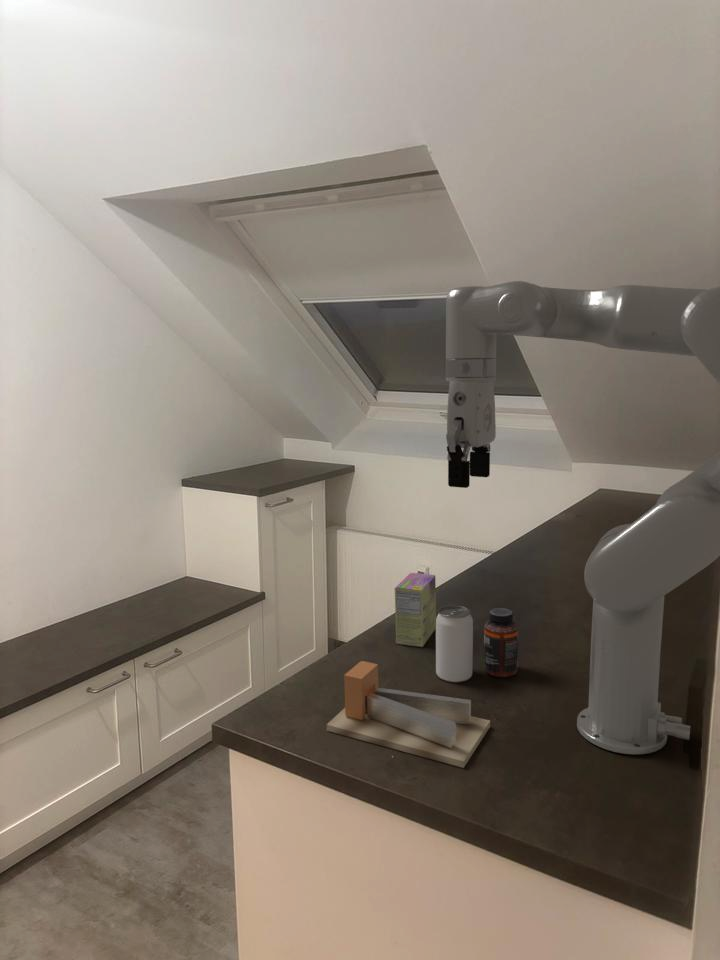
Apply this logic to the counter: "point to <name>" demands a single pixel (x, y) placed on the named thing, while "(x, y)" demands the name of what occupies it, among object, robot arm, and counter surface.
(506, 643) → the supplement bottle
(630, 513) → the counter surface
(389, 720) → the jaw
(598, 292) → the robot arm
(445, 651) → the can
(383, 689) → the bar
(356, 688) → the orange notched block
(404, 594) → the box
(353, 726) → the tongs board
